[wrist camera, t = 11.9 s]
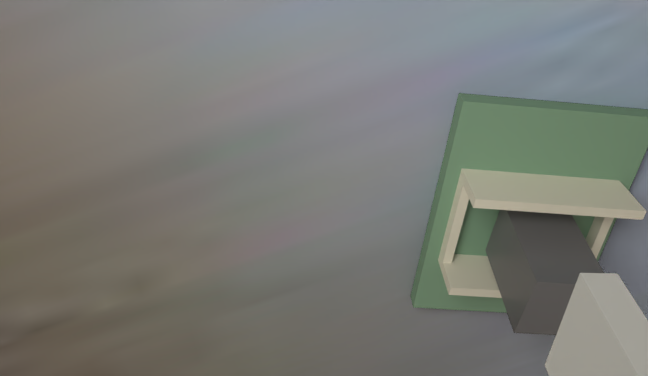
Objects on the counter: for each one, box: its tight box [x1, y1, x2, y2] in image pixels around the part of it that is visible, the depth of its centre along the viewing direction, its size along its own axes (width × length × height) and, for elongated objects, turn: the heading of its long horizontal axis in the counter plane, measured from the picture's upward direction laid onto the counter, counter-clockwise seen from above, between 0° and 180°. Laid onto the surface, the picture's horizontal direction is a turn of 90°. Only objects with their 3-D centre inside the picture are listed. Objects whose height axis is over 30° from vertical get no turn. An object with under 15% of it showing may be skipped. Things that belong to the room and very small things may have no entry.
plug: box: [485, 210, 604, 335], centre depth 36 cm, size 4×4×7 cm
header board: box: [411, 93, 648, 313], centre depth 38 cm, size 16×12×5 cm
